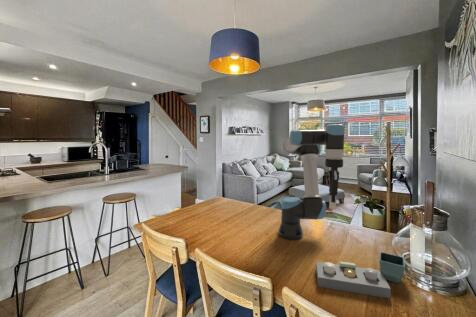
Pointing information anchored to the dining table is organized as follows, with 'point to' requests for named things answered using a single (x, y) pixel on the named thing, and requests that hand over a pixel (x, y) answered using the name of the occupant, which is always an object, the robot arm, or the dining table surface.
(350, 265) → the block
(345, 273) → the brass button
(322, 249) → the dining table surface
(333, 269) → the white rounded piece
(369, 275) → the white rounded dome
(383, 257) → the flower pot
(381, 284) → the console
